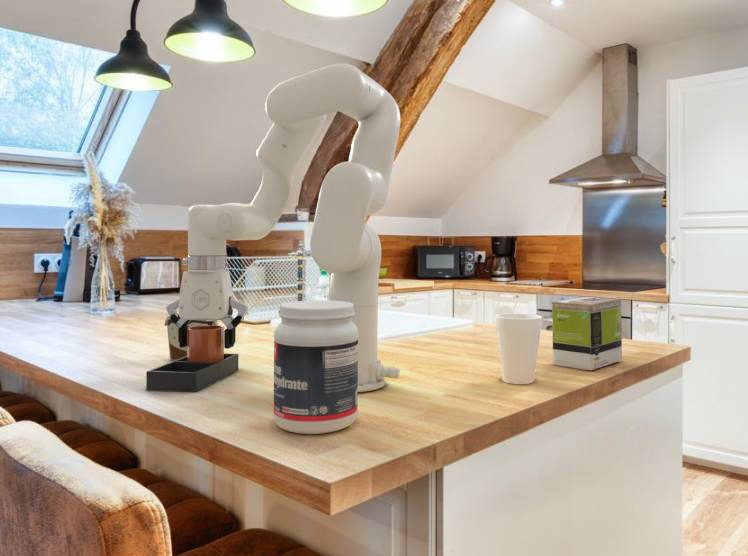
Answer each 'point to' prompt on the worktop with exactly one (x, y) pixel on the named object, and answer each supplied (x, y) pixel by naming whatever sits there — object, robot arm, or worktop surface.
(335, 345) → the supplement tub
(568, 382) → the worktop surface
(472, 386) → the worktop surface
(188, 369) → the holder
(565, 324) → the tea box
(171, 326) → the food container
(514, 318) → the foam cup
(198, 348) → the cup
